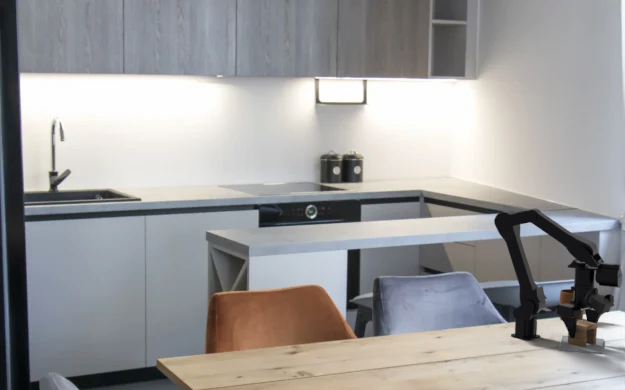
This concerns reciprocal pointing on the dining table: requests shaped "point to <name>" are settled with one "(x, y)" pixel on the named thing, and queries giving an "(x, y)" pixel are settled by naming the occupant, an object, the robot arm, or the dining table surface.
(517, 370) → the dining table surface
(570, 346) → the mat
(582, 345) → the stool
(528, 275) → the robot arm
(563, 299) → the mug
